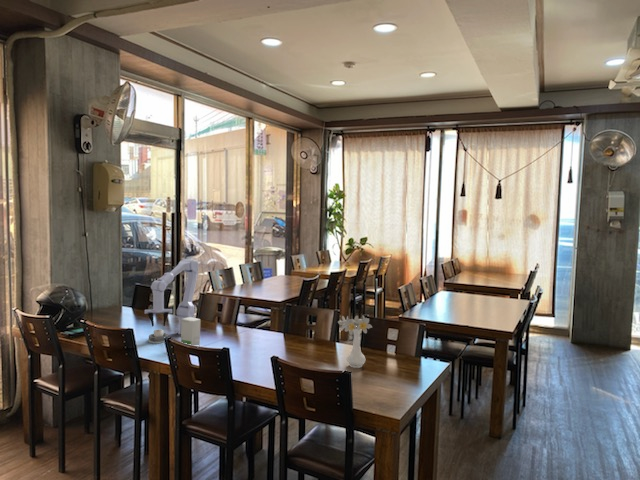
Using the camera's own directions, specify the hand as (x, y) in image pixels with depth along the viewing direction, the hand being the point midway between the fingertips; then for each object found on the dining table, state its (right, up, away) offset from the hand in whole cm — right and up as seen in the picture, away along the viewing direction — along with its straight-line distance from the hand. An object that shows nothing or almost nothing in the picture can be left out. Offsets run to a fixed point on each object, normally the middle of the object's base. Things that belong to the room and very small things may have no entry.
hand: (158, 325), depth 273 cm
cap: (0, -8, +1) cm, 8 cm away
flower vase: (+108, -14, -35) cm, 114 cm away
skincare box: (+21, -10, -10) cm, 25 cm away
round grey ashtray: (0, -8, +1) cm, 8 cm away
